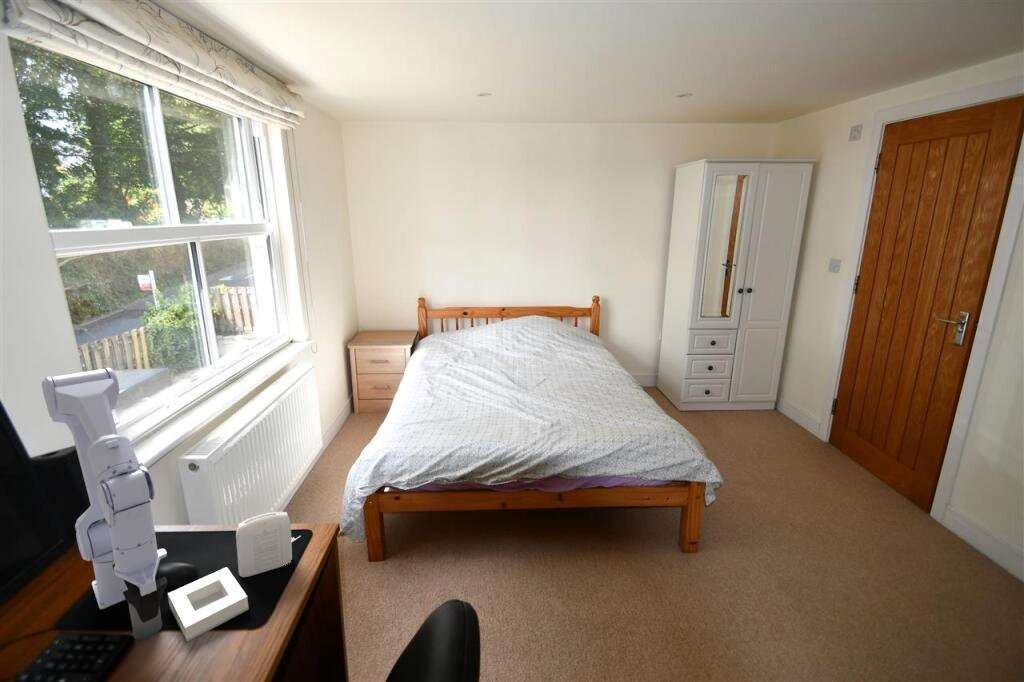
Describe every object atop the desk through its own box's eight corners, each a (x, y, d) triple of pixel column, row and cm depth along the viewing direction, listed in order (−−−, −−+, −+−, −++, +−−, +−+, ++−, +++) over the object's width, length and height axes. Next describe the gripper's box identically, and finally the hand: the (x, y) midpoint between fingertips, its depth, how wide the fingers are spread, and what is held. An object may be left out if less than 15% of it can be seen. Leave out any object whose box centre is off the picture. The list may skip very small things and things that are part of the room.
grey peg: (131, 630, 83) (126, 597, 81) (158, 617, 86) (154, 585, 84) (136, 644, 80) (131, 610, 78) (164, 630, 83) (159, 597, 81)
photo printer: (291, 552, 104) (287, 503, 101) (294, 564, 101) (291, 514, 98) (238, 568, 98) (233, 517, 96) (239, 581, 95) (234, 529, 92)
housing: (169, 606, 88) (167, 593, 87) (228, 579, 95) (226, 566, 95) (187, 641, 81) (185, 627, 80) (248, 609, 88) (247, 596, 88)
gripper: (174, 548, 77) (183, 616, 80) (152, 511, 86) (161, 573, 89) (119, 569, 72) (131, 641, 75) (102, 527, 81) (113, 593, 84)
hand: (144, 606), depth 82 cm, fingers open, 7 cm apart
